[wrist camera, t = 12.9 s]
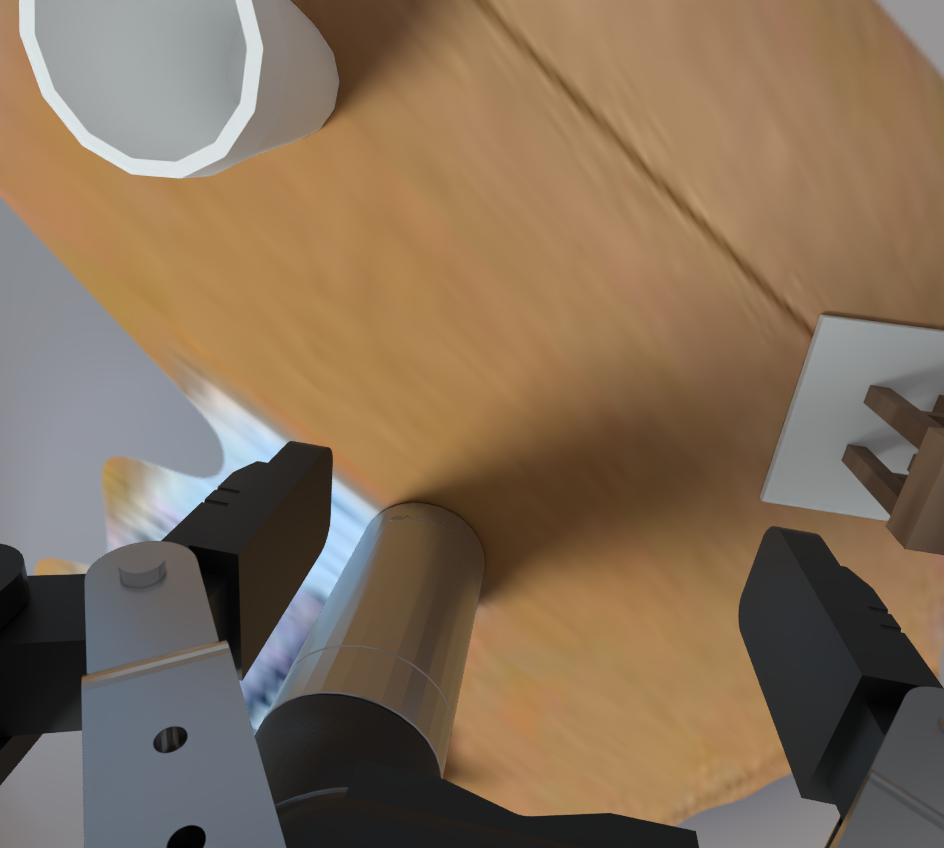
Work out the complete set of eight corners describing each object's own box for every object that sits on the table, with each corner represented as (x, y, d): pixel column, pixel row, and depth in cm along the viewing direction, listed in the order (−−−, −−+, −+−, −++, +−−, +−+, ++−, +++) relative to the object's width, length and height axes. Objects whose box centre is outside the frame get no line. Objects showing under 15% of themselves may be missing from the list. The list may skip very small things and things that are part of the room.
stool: (968, 392, 36) (1087, 463, 28) (929, 479, 38) (1028, 568, 30) (865, 378, 36) (952, 444, 28) (833, 464, 39) (904, 548, 30)
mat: (955, 527, 40) (961, 532, 39) (759, 496, 41) (762, 501, 40) (1045, 343, 35) (1052, 346, 34) (820, 314, 36) (824, 316, 35)
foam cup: (367, -18, 33) (254, -115, 21) (367, 174, 36) (271, 185, 25) (193, -27, 34) (-10, -124, 22) (210, 162, 37) (45, 166, 25)
